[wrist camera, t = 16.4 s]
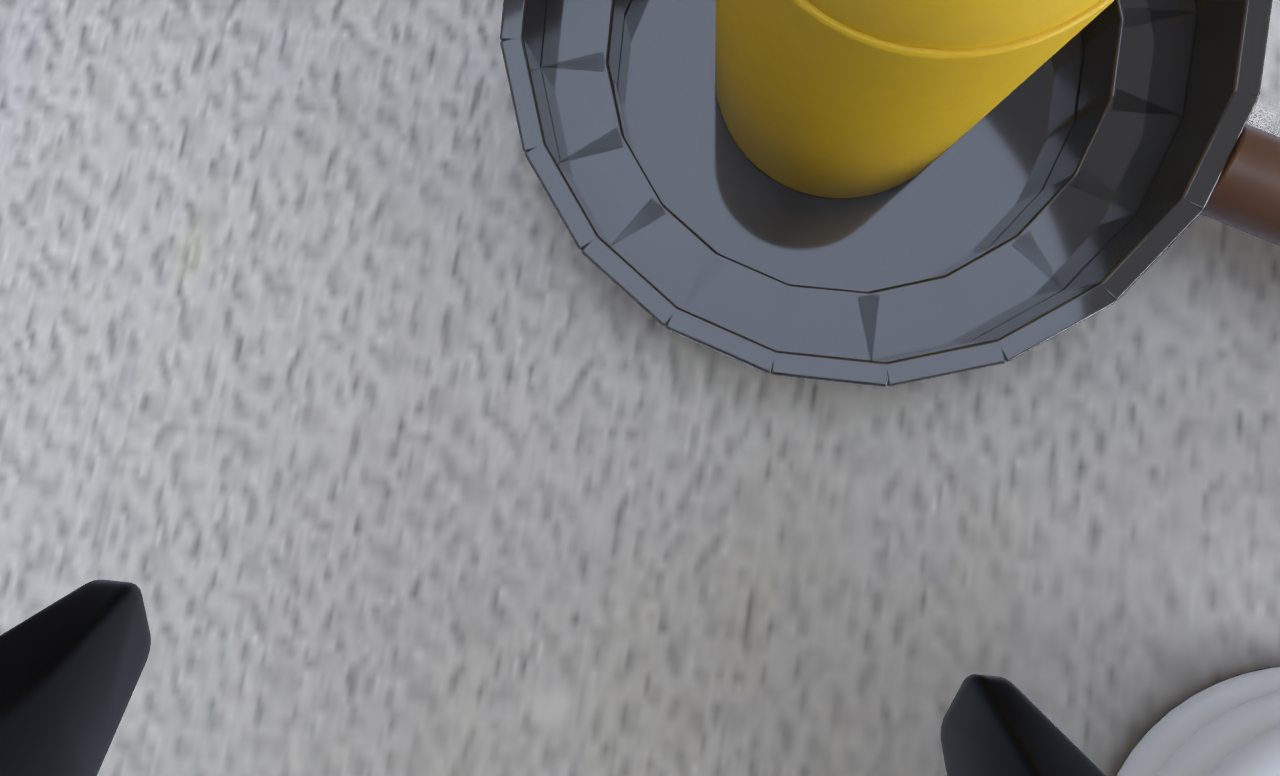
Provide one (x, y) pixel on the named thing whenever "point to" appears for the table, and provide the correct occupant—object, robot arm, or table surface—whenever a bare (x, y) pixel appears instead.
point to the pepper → (874, 80)
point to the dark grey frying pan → (893, 219)
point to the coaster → (1216, 732)
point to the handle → (1250, 186)
